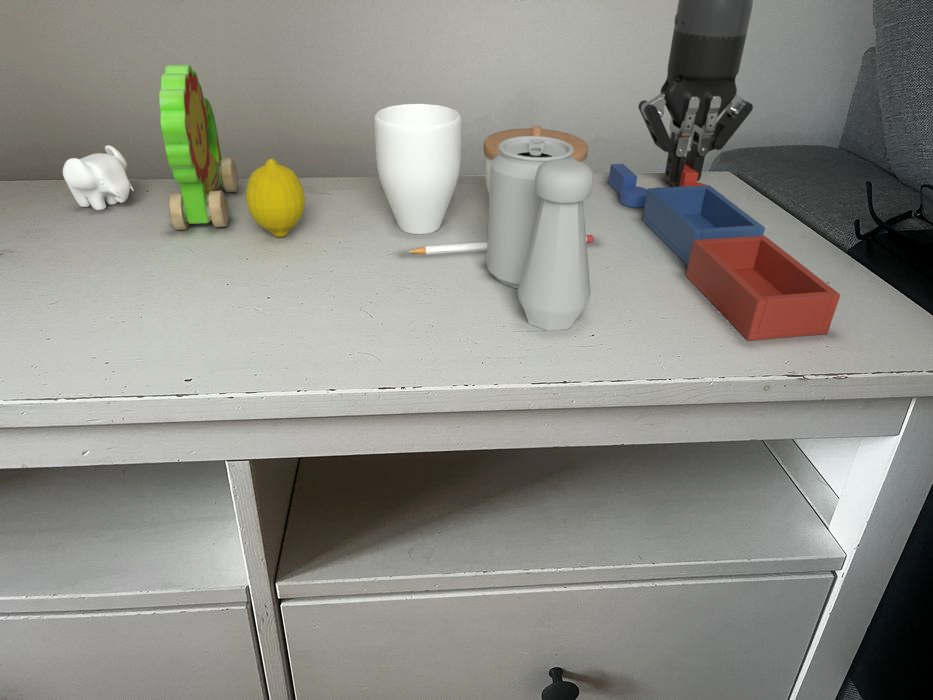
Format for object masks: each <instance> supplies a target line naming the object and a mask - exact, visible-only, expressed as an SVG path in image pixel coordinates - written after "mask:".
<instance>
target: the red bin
mask: <svg viewBox="0 0 933 700" xmlns="http://www.w3.org/2000/svg"><path fill="white" fill-rule="evenodd" d="M685 273H686V274H685V276H686V277H687V279H688V280H689V281H690V282H692V284H693V285H694V286H695V287H696V288H697V289H698V291H700V292H701V293H702V294H703V295H704V297H706V299H707V300H708V301H709V302H710V303H711V304H712V305H713V306H714V307H715V308H716V309H717V310H718V311H719V312H720V314H722V316H723V317H725V318H726V320H727V321H728V322H729V323H730V324H731V325H732V326H733V327H734V328H735V329H736V330H737V331H738V332H739V334H741V335H742V336H743V337H744V338H745V339H746V341H759V340H771V339H783V338H795V337H805V336H806V337H807V336H818V335H828V333H829V331H830V327H831V324H832V322H833V319H834V315H835V312H836V309H837V307H838V304H839V301H840V298H841V294H840V293H839V292H838V291H836V290H835V289H834V288H833V287H832V286H830V285H829V284H827V283H826V282H825V281H823V280H822V279H821V278H820V277H818V276H817V275H816V274H815V273H813V272H812V271H811V270H810V269H808V268H807V267H806V266H805V265H803V264H802V263H800V262H799V261H798V260H797V259H795V258H794V257H793V256H792V255H790V253H788V252H786V250H784V249H783V248H781V247H780V246H779V245H777V243H775V242H774V241H772V240H771V239H770V238H769V237H767V235H763V236H750V237H734V238H718V239H702V240H693V245H692V250H691V254H690V259H689V264H688V266H687V270H686V272H685Z"/></svg>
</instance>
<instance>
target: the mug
mask: <svg viewBox="0 0 933 700" xmlns="http://www.w3.org/2000/svg"><path fill="white" fill-rule="evenodd" d="M373 121H374V126H373V127H374V143H375V162H376V170H377V175H378V179H379V182H380V185H381V187H382V190H383V193H384V195H385V197H386V199H387V202H388V204H389V207H390V209H391V211H392V214H393V216H394V219H395V221H396V223H397V226H398V228H399V229H400V230H401V231H402V232H405V233H407V234H410V235H428V234H432V233H434V232H437V231H439V230H440V228H441V227H442V224H443V221H444V218H445V217H446V213H447V211H448V208H449V206H450V203H451V200H452V198H453V196H454V192H455V189H456V187H457V183H458V180H459V176H460V171H461V161H462V160H461V158H462V118H461V114H460V113H459V112H458V111H457V110H455V109H453V108H451V107H448V106H443V105H437V104H431V103H430V104H427V103H406V104H397V105H396V104H395V105H390V106H387V107H384V108H382V109H380V110H378V111H377V112H376V113H375V115H374V120H373Z"/></svg>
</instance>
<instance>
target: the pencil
mask: <svg viewBox="0 0 933 700" xmlns="http://www.w3.org/2000/svg"><path fill="white" fill-rule="evenodd" d="M593 242H594V235H592V234H586V243H587V244H589V243H590V244H591V243H593ZM487 244H488V241H486V242H485V241H483V242H470V243H468V242H467V243H455V244H442V245H441V244H440V245H439V244H438V245H425V246H422V247H418V248H415V249H411V250H408V251H407V253H410V254H416V255H417V254H418V255H437V254H438V255H439V254H450V253H451V254H452V253H453V254H454V253H464V252H465V253H466V252H479V251H487Z"/></svg>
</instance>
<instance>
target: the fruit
mask: <svg viewBox="0 0 933 700" xmlns="http://www.w3.org/2000/svg"><path fill="white" fill-rule="evenodd" d="M245 202H246V205H247V208H248V212H249V214H250V215H251V217H252V219H253V220H254V221H255V222H256V223H257V224H258V226H260V227H262V228H263V229H265V230H267V231H269V232H270V233H271V234H272V235H273V236H275V237H276V238H284V237H286V236H287V235H288V234H289V232H290V230H291V229H292V228H293V227H295V226H296V225H297V224H298V223H299V221H300V220H301V218H302V216H303V214H304V211H305V208H306V207H305V206H306V194H305V190H304V188H303V185H302V182H301V181H300V179H299V178H298V176H297V174H296V173H295V172H294V171H293V169H290V168H289V167H287V166H285V165H282V164H278V161H277V160H275V159H274V158H272V157H271V156H270V157H269V158H267V160H266V162H265V164H264V165H262V166H259V167H258V168H256V169H255V170H254V171H252V173H251V174H250V176H249V178H248V181H247V184H246V190H245Z"/></svg>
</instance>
